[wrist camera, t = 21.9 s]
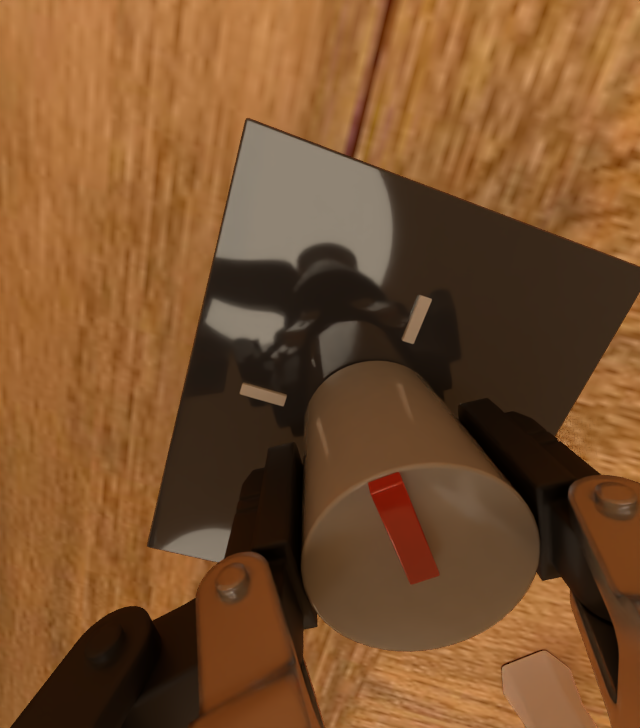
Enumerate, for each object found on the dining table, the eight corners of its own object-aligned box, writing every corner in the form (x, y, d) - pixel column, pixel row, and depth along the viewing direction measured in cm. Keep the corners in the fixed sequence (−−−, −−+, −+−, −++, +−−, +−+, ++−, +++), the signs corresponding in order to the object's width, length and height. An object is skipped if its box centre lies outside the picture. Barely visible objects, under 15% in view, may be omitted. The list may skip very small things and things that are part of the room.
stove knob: (456, 456, 12) (572, 628, 7) (333, 500, 13) (352, 695, 7) (417, 338, 11) (522, 436, 6) (281, 391, 12) (257, 531, 6)
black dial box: (428, 555, 18) (452, 619, 15) (173, 493, 16) (143, 550, 13) (581, 263, 14) (658, 271, 11) (260, 144, 12) (244, 113, 9)
